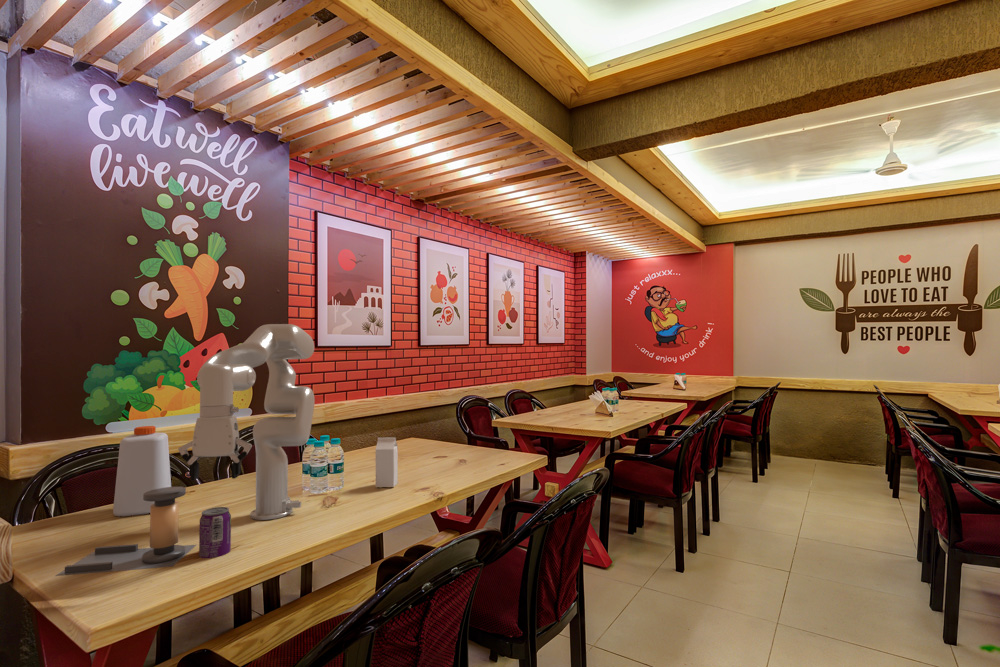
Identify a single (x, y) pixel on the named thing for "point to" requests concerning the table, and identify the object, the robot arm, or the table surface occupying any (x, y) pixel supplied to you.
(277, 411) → the robot arm
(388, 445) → the milk carton
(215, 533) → the beverage can
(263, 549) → the table surface
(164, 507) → the bobbin
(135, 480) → the plastic bottle
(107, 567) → the board
